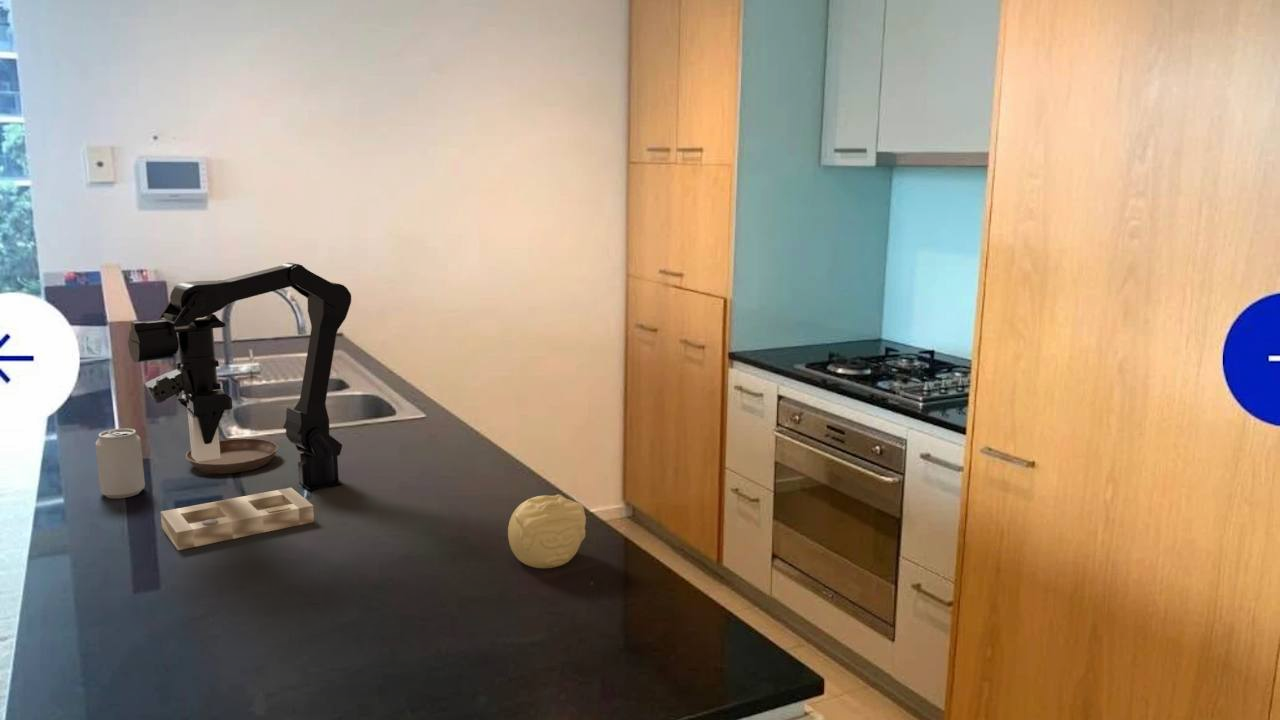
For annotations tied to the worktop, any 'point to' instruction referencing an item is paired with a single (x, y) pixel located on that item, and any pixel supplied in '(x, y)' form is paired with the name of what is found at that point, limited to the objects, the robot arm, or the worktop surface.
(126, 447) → the can
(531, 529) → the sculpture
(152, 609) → the worktop surface
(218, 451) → the plug
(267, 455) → the plant saucer
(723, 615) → the worktop surface
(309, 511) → the socket block
